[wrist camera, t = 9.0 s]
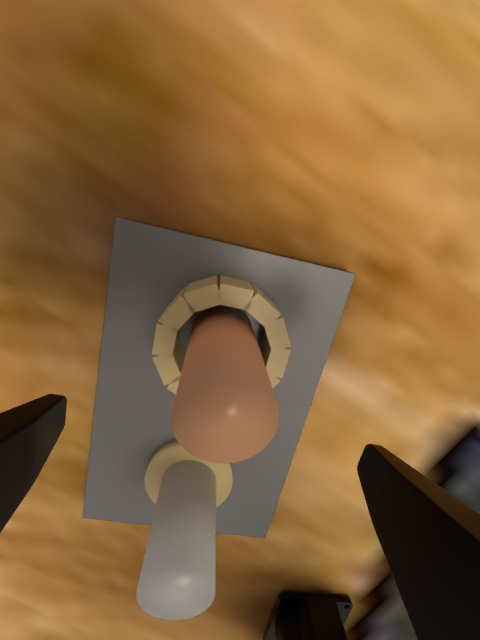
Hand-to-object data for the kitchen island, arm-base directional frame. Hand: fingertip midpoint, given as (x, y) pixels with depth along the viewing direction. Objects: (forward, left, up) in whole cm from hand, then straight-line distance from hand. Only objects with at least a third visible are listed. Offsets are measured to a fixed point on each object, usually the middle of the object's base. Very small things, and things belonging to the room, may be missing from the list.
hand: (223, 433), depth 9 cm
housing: (-5, 0, -10) cm, 11 cm away
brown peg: (0, 0, -9) cm, 9 cm away
